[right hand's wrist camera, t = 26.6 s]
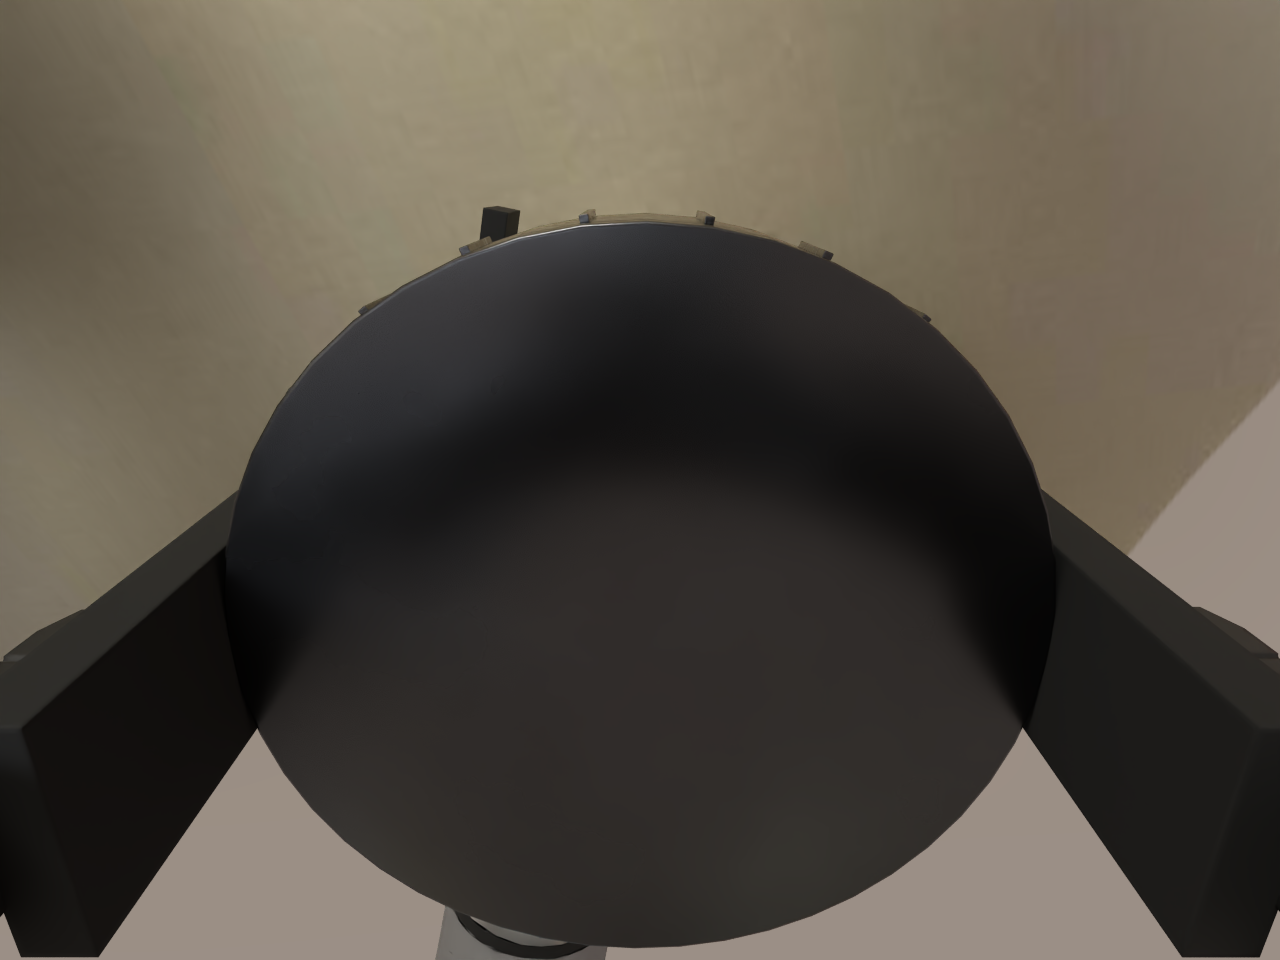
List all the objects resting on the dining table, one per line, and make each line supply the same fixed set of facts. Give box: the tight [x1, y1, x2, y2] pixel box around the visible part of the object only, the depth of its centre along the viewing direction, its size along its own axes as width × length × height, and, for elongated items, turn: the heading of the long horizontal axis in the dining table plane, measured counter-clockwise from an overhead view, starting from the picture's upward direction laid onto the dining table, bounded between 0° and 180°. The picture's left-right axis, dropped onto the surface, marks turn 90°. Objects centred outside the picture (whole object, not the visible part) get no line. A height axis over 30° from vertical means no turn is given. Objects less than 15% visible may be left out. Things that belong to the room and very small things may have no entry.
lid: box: [224, 209, 1056, 948], centre depth 11 cm, size 11×11×2 cm
